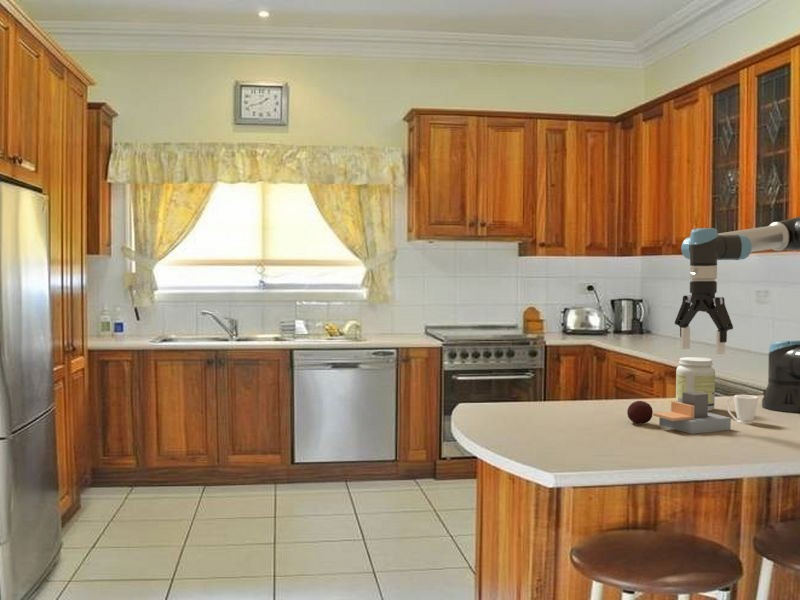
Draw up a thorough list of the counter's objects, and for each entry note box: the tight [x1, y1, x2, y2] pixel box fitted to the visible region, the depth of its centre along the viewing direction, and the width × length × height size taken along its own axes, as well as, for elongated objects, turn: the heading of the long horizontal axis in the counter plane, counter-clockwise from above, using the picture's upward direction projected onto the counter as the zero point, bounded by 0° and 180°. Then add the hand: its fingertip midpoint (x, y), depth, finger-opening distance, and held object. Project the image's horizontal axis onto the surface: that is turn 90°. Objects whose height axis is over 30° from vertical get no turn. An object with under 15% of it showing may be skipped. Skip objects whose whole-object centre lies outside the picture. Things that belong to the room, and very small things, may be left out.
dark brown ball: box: [626, 400, 654, 425], centre depth 232 cm, size 7×8×7 cm
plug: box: [682, 391, 709, 419], centre depth 228 cm, size 5×5×9 cm
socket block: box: [659, 412, 732, 435], centre depth 228 cm, size 15×13×4 cm
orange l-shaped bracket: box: [652, 400, 695, 421], centre depth 225 cm, size 8×8×4 cm
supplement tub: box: [675, 356, 716, 412], centre depth 257 cm, size 12×12×17 cm
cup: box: [726, 394, 759, 425], centre depth 237 cm, size 7×10×8 cm
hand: (702, 351), depth 230 cm, fingers open, 13 cm apart
